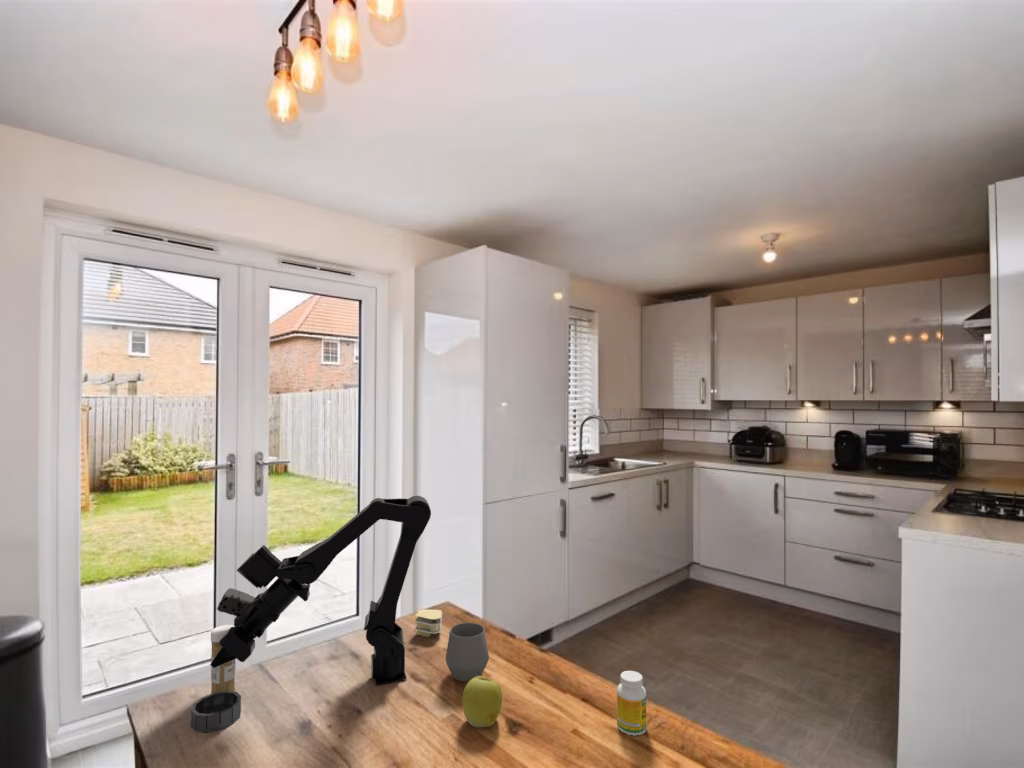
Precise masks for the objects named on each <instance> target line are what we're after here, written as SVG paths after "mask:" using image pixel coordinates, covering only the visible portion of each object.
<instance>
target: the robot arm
mask: <svg viewBox="0 0 1024 768" xmlns="http://www.w3.org/2000/svg"><path fill="white" fill-rule="evenodd" d="M431 515H432V511H431V506H430V504H429V502H428V500H427V499H426V498H425V497H423V496H421V495H414V496H413V495H412V496H411V497H409V498H381V497H377V498H374V499H372V500H371V501H370V502H369V504H367V506H365V507H364V508H363V509H362V510H361V511H359V512H358V513H357V514H356V515H354V516H353V517H352V518H351V519H349V520H348V521H347V522H346V523H344V525H343V526H341V527H340V528H338V530H337V531H335V532H334V533H333V534H332V535H331V536H329V537H328V538H326V539H324V540H322V541H320V542H318V543H316V544H314V545H312V546H310V547H309V548H306V550H303V551H302V552H301V553H300V554H299V555H295V556H290V557H285V558H283V559H282V560H280V559H279V558H278V557H277V556H276V555H275V554H273V553H272V552H271V551H270V549H269V548H268V547H267V546H266V545H262V546H260V547H259V548H258V549H257V550H256V551H255V552H254V553H251V555H250V556H248V558H247V559H246V560H244V562H243V563H242V564H241V565H240V566H239V567H238V568H236V572H238V573H239V574H240V575H241V576H242V578H244V579H246V581H248V582H249V583H250V584H251V585H253V587H255V588H256V589H257V588H258V589H262V588H265V587H267V586H268V585H269V584H270V583H272V581H273V580H274V579H275V578H276V577H277V578H276V580H274V582H273V583H272V584H271V585H269V587H268V588H267V589H265V591H264V592H262V593H260V592H259V593H258V594H257V595H256V596H255V597H254V596H252V595H250V594H249V593H246V592H243V591H241V590H239V589H236V588H231V587H230V588H228V589H227V590H226V591H225V592H224V594H223V595H222V597H221V600H220V601H219V603H218V606H217V607H216V611H218V612H219V613H225V614H228V615H231V616H235V618H234V620H233V626H235V627H231V628H230V629H229V630H228V631H226V632H225V634H224V635H223V637H222V638H221V640H220V641H219V643H220V645H221V646H222V648H221V650H220V651H219V652H218V654H217V655H216V657H215V658H214V659H213V661H212V662H211V661H210V663H209V665H210V667H211V666H212V667H213V668H215V667H217V666H220V665H222V664H224V663H227V662H229V661H231V660H234V659H235V660H238V661H239V662H240V663H245V661H247V660H248V658H249V657H250V656H251V655H252V654H253V652H254V649H255V648H256V640H255V639H256V638H258V639H260V638H261V637H262V636H263V635H264V633H265V631H266V630H267V629H268V628H269V627H270V626H271V625H272V624H273V623H275V622H277V620H278V619H279V618H280V615H282V613H284V611H285V610H287V608H288V607H289V606H290V605H291V604H292V603H293V602H295V600H296V599H297V598H298V597H299V598H300V599H301V600H303V601H304V602H307V601H308V599H309V596H310V594H311V593H310V588H311V584H313V583H315V582H316V581H317V580H318V579H319V578H320V576H321V575H322V574H324V572H325V571H326V570H327V569H328V568H329V566H330V565H331V564H332V562H333V560H335V558H336V557H337V556H338V555H339V554H340V553H341V552H342V551H344V550H345V549H346V548H347V547H349V546H350V545H351V544H353V542H355V540H357V539H358V538H359V537H361V535H363V534H364V533H365V532H366V531H368V530H369V529H370V528H371V527H372V526H373V525H375V524H376V523H377V522H379V520H383V521H384V520H385V521H391V522H396V523H401V526H400V528H401V529H400V535H399V538H398V541H397V544H396V545H397V546H396V548H395V551H394V554H393V558H392V560H391V563H390V567H389V570H388V573H387V576H386V580H385V583H384V585H383V589H382V592H381V595H380V597H379V598H378V599H377V601H376V602H375V601H373V600H370V603H369V610H368V613H367V614H366V616H365V618H364V625H363V626H364V627H363V630H364V631H366V632H365V639H366V641H367V642H368V644H369V645H370V646H371V647H373V654H371V656H370V659H371V660H370V662H371V663H370V664H371V665H370V670H371V672H370V674H371V677H372V679H373V680H374V683H375V685H377V686H379V685H380V686H381V685H385V684H391V683H396V682H401V681H405V680H407V674H406V672H405V671H406V666H405V664H406V659H405V658H406V655H405V654H406V652H405V651H406V649H405V648H406V647H405V645H404V632H403V628H402V627H401V626H400V625H399V624H397V622H396V618H397V609H398V602H399V599H400V595H401V593H402V589H403V586H404V583H405V580H406V577H407V574H408V570H409V567H410V565H411V561H412V558H413V555H414V551H415V549H416V546H417V545H416V544H417V543H418V540H420V538H421V536H422V535H423V533H424V531H425V530H426V527H427V525H428V524H429V521H430V520H431V518H432V517H431Z"/></svg>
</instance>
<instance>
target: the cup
mask: <svg viewBox="0 0 1024 768" xmlns="http://www.w3.org/2000/svg"><path fill="white" fill-rule="evenodd" d="M487 643H488V642H487V635H486V630H485V627H484V626H483V625H482V624H480V623H476V622H461V623H458V624H455V625H453V626H452V627H451V628H450V630H449V633H448V639H447V647H446V652H445V662H446V666H447V668H448V670H449V671H450V674H451V676H452V677H453V679H455V680H456V681H459V682H464V683H465V682H466V683H468V682H469V681H470V680H471V679H472V678H474V677H477V676H483V672H484V671H485V669H486V667H487V665H488V663H489V659H490V655H489V648H488V644H487ZM477 671H478V672H479V673H480V674H479V673H478V672H477Z"/></svg>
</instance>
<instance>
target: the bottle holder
mask: <svg viewBox="0 0 1024 768" xmlns="http://www.w3.org/2000/svg"><path fill="white" fill-rule="evenodd" d="M241 713H242V695H241V694H240V693H238V691H235V692H234V691H222V692H216V693H214V694H213V693H212V694H211V693H210V694H208V695H205V696H203V697H201V698H198V700H197V701H195V702H194V703H193V704H192V706H191V710H190V728H191V729H193V731H195V732H198V733H205V734H206V733H211V732H215V731H220V730H223V729H225V728H228V727H229V726H232V725H233V724H235V722H236V721H238V720H239V719H240V718H241V715H242V714H241Z"/></svg>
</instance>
